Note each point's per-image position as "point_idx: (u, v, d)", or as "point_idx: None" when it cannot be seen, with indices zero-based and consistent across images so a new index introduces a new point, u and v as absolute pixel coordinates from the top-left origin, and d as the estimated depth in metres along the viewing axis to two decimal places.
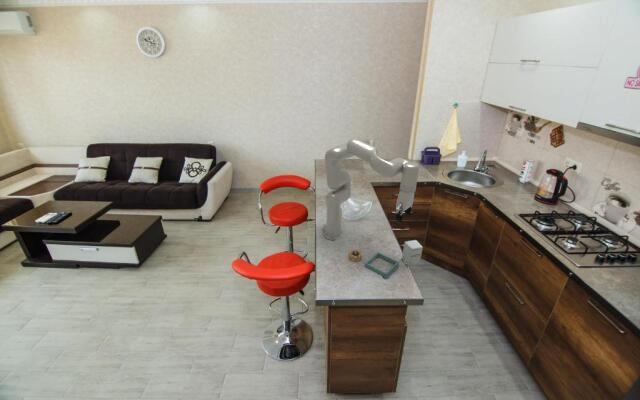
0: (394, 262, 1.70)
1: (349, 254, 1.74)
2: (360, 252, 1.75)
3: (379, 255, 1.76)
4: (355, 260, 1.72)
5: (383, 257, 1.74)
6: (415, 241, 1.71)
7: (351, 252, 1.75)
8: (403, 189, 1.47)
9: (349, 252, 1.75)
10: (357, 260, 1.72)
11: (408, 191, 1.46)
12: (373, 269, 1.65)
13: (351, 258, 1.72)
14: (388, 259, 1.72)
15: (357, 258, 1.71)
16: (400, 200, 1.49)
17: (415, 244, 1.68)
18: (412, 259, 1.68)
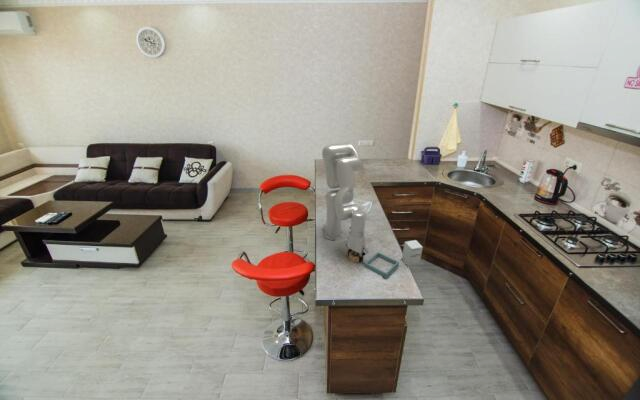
0: (394, 262, 1.70)
1: (349, 254, 1.74)
2: None
3: (379, 255, 1.76)
4: (355, 260, 1.72)
5: (383, 257, 1.74)
6: (415, 241, 1.71)
7: (351, 252, 1.75)
8: (362, 234, 1.65)
9: (349, 252, 1.75)
10: (357, 260, 1.72)
11: None
12: (373, 269, 1.65)
13: (351, 258, 1.72)
14: (388, 259, 1.72)
15: (357, 258, 1.71)
16: (363, 244, 1.66)
17: (415, 244, 1.68)
18: (412, 259, 1.68)
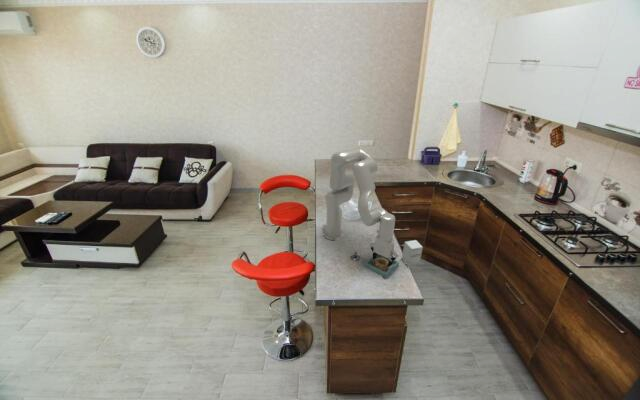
0: (394, 262, 1.70)
1: (375, 262, 1.68)
2: (386, 260, 1.69)
3: (379, 255, 1.76)
4: (382, 269, 1.66)
5: (383, 257, 1.74)
6: (415, 241, 1.71)
7: (377, 260, 1.69)
8: (391, 239, 1.58)
9: (375, 260, 1.69)
10: (384, 269, 1.66)
11: (392, 237, 1.60)
12: (373, 269, 1.65)
13: (378, 266, 1.66)
14: (388, 259, 1.72)
15: (384, 266, 1.65)
16: (392, 248, 1.59)
17: (415, 244, 1.68)
18: (412, 259, 1.68)
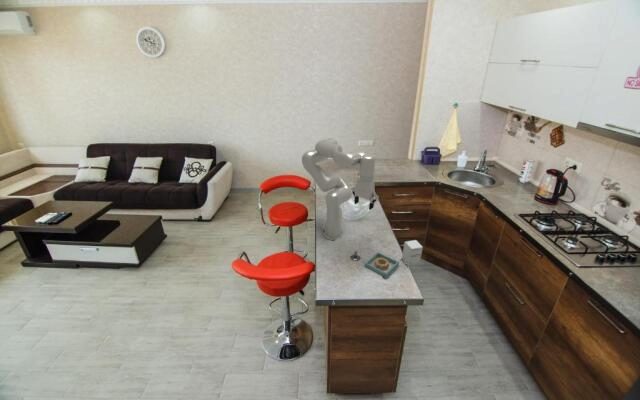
0: (394, 262, 1.70)
1: (375, 262, 1.68)
2: (386, 260, 1.69)
3: (379, 255, 1.76)
4: (382, 269, 1.66)
5: (383, 257, 1.74)
6: (415, 241, 1.71)
7: (377, 260, 1.69)
8: (371, 179, 1.59)
9: (375, 260, 1.69)
10: (384, 269, 1.66)
11: None
12: (373, 269, 1.65)
13: (378, 266, 1.66)
14: (388, 259, 1.72)
15: (384, 266, 1.65)
16: (372, 190, 1.61)
17: (415, 244, 1.68)
18: (412, 259, 1.68)
